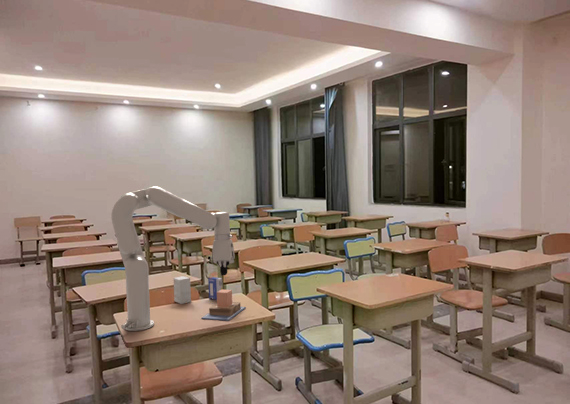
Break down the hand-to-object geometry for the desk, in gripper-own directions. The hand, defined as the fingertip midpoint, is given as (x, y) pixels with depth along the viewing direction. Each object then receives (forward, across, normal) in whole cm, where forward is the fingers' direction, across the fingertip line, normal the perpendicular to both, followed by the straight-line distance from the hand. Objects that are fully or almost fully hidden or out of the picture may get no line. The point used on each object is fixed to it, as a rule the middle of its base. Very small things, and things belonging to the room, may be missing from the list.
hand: (224, 274), depth 198 cm
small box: (+19, +32, -14) cm, 40 cm away
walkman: (+19, +16, -22) cm, 33 cm away
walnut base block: (+19, 0, 0) cm, 19 cm away
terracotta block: (+15, 0, 0) cm, 15 cm away
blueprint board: (+19, 0, +1) cm, 19 cm away
